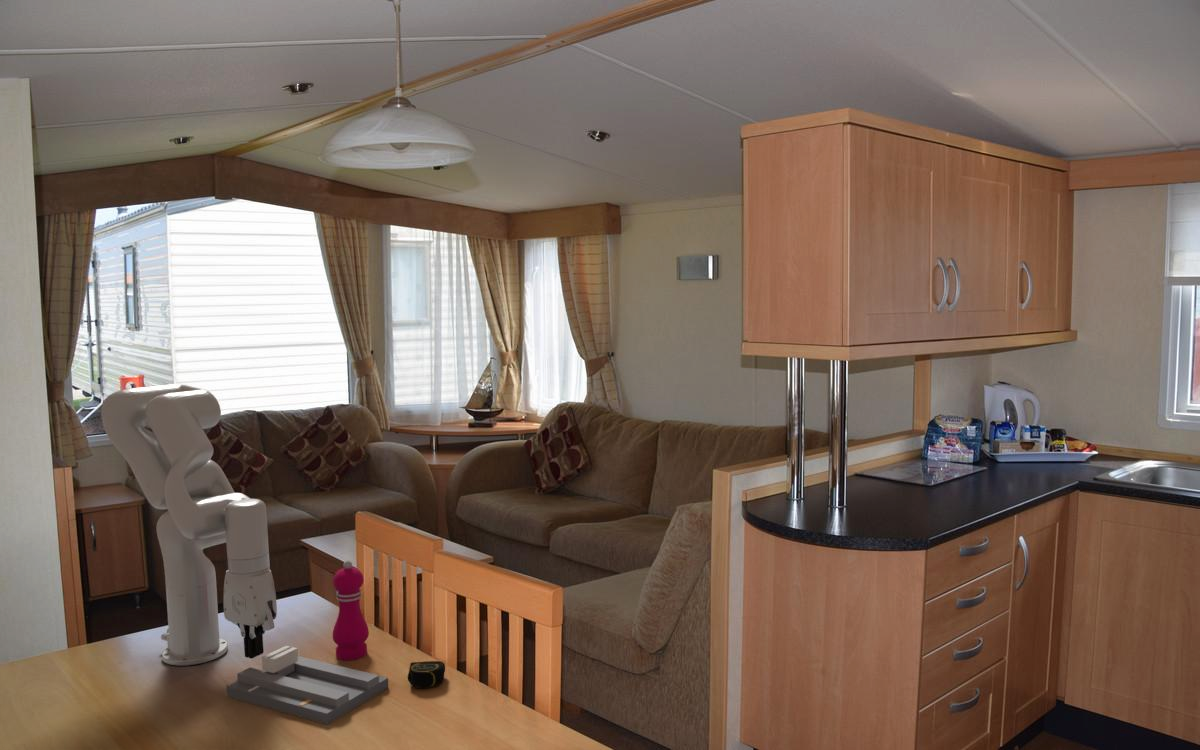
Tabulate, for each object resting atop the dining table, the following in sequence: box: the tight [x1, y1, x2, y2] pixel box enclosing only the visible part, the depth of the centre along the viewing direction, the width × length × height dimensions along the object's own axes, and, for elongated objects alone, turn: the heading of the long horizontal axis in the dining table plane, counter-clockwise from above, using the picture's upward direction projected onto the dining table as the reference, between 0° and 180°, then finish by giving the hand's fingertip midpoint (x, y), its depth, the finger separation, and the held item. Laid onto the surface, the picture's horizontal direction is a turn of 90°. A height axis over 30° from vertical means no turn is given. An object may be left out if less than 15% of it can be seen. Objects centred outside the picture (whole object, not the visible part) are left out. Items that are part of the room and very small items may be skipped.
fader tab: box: [261, 645, 299, 676], centre depth 174 cm, size 3×6×4 cm, turn 153°
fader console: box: [226, 655, 389, 725], centre depth 171 cm, size 25×16×4 cm, turn 63°
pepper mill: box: [332, 560, 370, 661], centre depth 188 cm, size 7×7×20 cm
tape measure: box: [407, 660, 446, 689], centre depth 174 cm, size 7×7×4 cm
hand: (254, 655), depth 177 cm, fingers closed
